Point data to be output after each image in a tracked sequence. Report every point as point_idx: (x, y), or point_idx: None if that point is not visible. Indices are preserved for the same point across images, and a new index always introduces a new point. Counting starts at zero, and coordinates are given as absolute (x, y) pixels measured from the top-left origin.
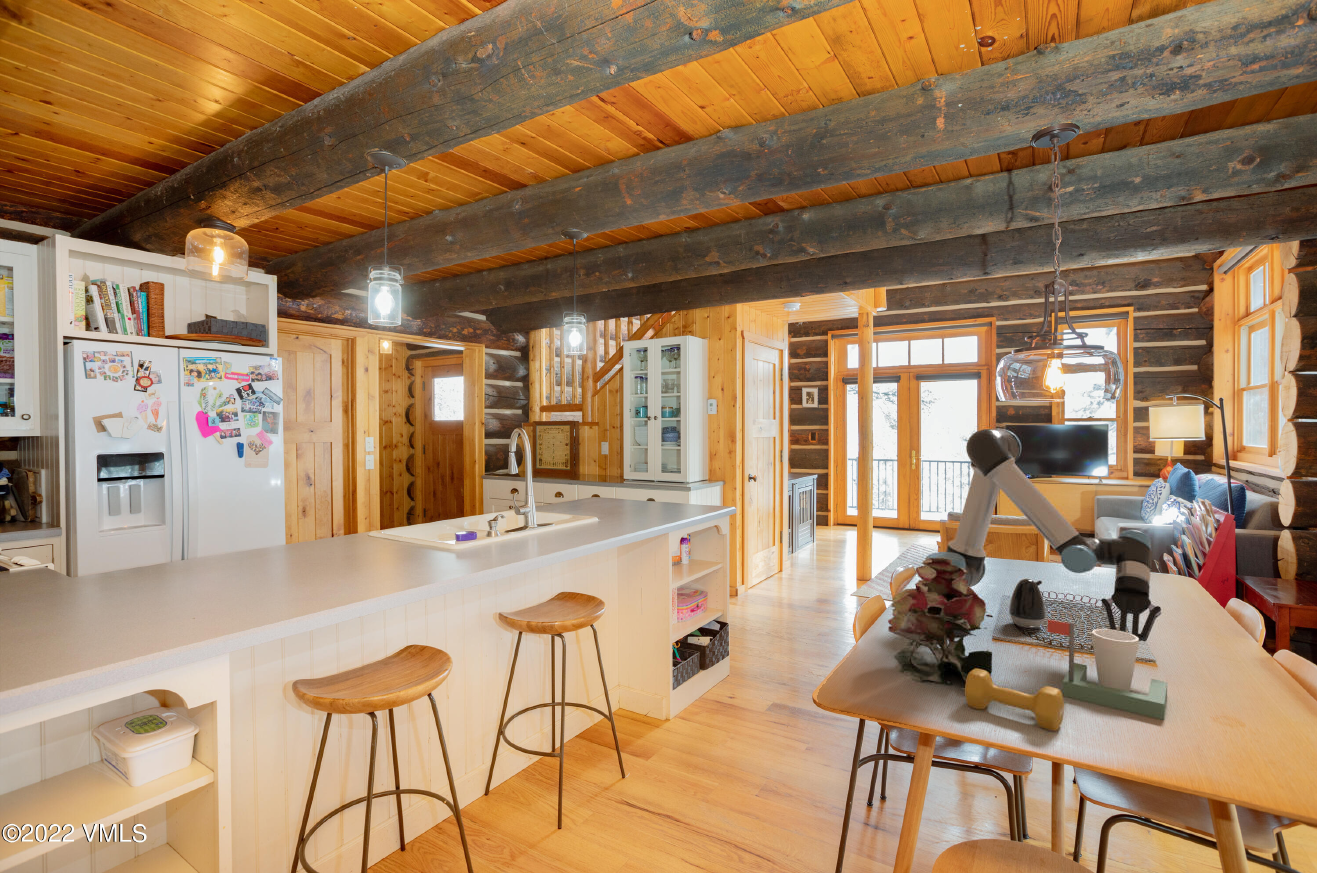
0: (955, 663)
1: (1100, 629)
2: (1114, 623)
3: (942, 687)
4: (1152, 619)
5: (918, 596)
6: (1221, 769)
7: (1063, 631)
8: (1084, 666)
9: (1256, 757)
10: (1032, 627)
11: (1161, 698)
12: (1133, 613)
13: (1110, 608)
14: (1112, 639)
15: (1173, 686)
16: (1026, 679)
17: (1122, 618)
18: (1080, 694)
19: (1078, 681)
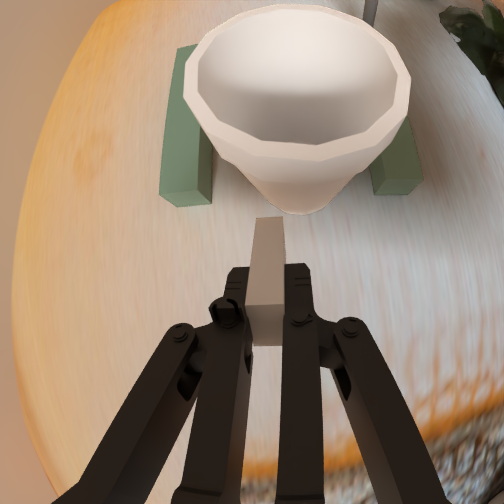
0: (486, 1)
1: (392, 115)
2: (356, 372)
3: None
4: (105, 442)
5: None
6: (144, 9)
7: None
8: (387, 160)
9: (98, 60)
10: (494, 497)
11: (179, 68)
12: (219, 491)
13: (408, 494)
14: (288, 7)
15: (166, 312)
16: (455, 103)
17: (306, 433)
18: None
19: None
